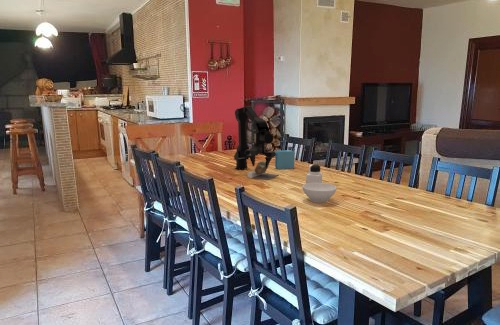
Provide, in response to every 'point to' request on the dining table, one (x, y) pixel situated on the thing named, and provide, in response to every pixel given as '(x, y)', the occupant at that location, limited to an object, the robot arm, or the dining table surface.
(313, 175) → the medicine bottle
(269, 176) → the mat
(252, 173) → the rail
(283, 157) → the data package
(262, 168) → the block
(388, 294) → the dining table surface
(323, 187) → the bowl
